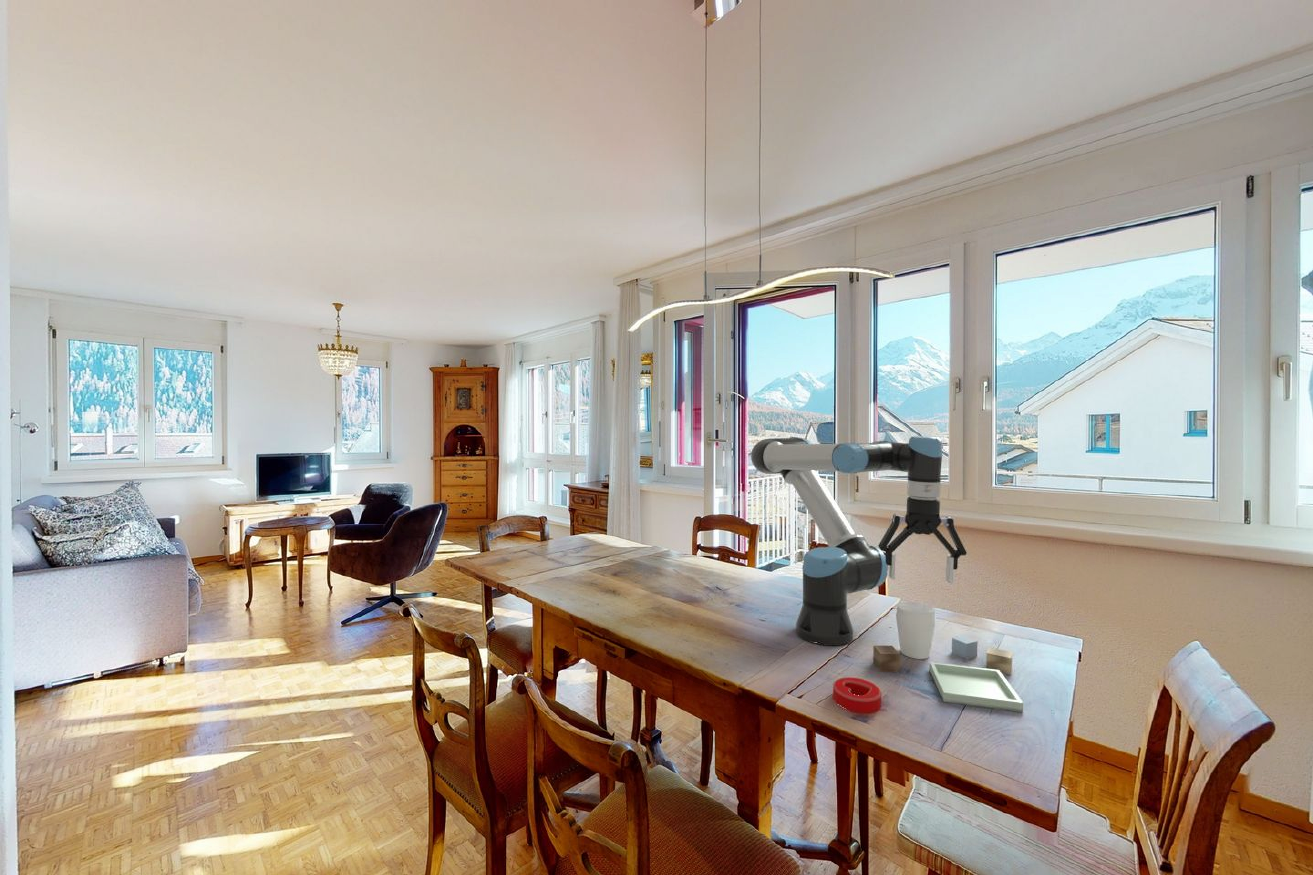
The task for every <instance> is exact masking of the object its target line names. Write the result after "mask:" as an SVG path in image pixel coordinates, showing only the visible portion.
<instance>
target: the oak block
mask: <svg viewBox="0 0 1313 875" xmlns="http://www.w3.org/2000/svg"><path fill="white" fill-rule="evenodd" d="M1013 653H1014V652H1012V651H1007V650H1003V649H999V648H996V647H995V648H994V647H990V646H988V647H987V651H986V654H985V655H986V657H985V658H986V661H985V664H986V665H985V668H986V669H995V670H1000V672H1001V673H1002V674H1007V675H1012V672H1013Z"/></svg>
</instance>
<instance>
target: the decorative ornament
mask: <svg viewBox="0 0 1313 875" xmlns="http://www.w3.org/2000/svg"><path fill="white" fill-rule="evenodd" d="M854 694H855V695H854ZM858 695H859V696H858ZM833 698H834V699H833ZM832 699H833V701H834V700H835V701H836V703H837V704H839V705H841V706H842V707H844V708H846V709H847V710H846V709H845V710H846V711H848V710H849V711H848V712H851V711H852V713H855V712H856V714H865V715H866V714H867V715H868V714H874V713H877V712H878V711H880V710H881V708H882V691H881V689H880V687H878V686H877V685H876V684H874V683H873V682H871V681H869V680H866V679H864V678H858V677H850V676H849V677H842V678H839V679H836V680H835V681H834V682H833V684H832ZM835 701H834V702H835ZM836 703H835V704H836ZM837 704H836V705H837ZM839 705H838V706H839ZM842 707H841V708H842Z"/></svg>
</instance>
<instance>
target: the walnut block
mask: <svg viewBox="0 0 1313 875" xmlns="http://www.w3.org/2000/svg"><path fill="white" fill-rule="evenodd" d="M872 655H873V660H872V661H873V662H872V663H873V665H874V666H875V667H876V668H877V670H878V671H879V673H900V672H901V670H900V667H901V666H900V665H901V652H899V651H898V650H897V649H896V648H895V647H894V646H893V645H876V644H875V645H873V654H872Z"/></svg>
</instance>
